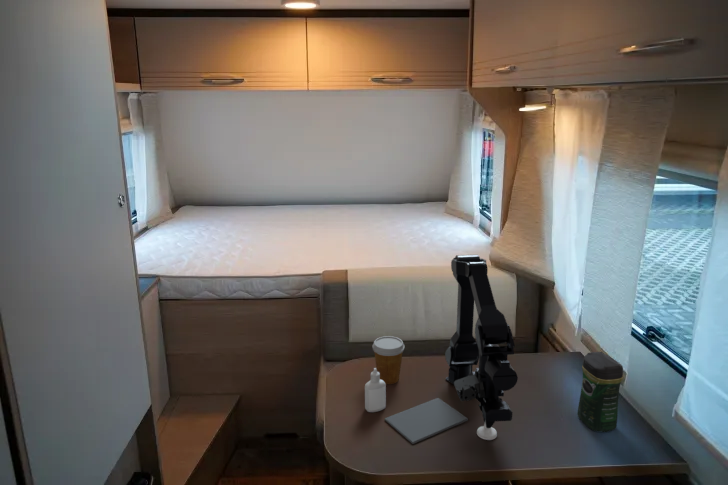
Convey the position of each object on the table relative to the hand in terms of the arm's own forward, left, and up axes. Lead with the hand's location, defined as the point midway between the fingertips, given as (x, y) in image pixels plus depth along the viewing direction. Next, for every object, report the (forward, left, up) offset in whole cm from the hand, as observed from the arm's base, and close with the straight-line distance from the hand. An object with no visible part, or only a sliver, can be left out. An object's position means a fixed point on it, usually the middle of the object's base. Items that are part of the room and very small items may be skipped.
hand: (487, 425), depth 135 cm
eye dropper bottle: (+17, -25, -3) cm, 30 cm away
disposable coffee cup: (+5, -36, -3) cm, 36 cm away
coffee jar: (-27, +12, -3) cm, 30 cm away
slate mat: (+9, -13, -2) cm, 16 cm away
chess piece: (0, 0, -3) cm, 3 cm away
